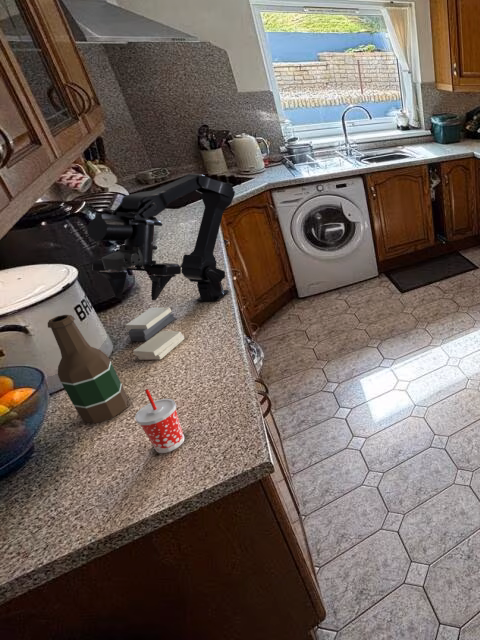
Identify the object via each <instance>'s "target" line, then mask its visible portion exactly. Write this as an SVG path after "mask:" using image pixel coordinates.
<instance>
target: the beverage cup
mask: <svg viewBox="0 0 480 640" xmlns="http://www.w3.org/2000/svg"><path fill="white" fill-rule="evenodd" d="M144 392H145V394H146V396H147V398H148V401H149V403H147V404H146V405H144V406H142V407H141V408H140V409H139V410H138V411H137V412H136V413H135V415H134V419H135V422H136V423H137V424H138V425H140V427H141V428H142V430H143V431H144V433H145V435H146V437H147V438H148V440H149V442H150V443H151V445H152V446H153V448H154V450H155V451H156V452H157V453H158V454H165V453H170V452H172V451H174V450H176V449H178V448H179V447H181V446H182V444H183V443H184V441H185V439H186V438H185V435H184V431H183V428H182V426H181V423H180V422H181V421H180V419H179V416H178V413H177V404H176V401H175V400H174V399H172V398H161V399H157V400H154V399H153V397H152V395H151V392H150V390H149V389H148V388H146V389H145V390H144Z"/></svg>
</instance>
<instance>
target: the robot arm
mask: <svg viewBox="0 0 480 640" xmlns="http://www.w3.org/2000/svg"><path fill="white" fill-rule="evenodd" d="M195 191H196V192H197V193H200V194H201V201H202V203H203V205H204V210H203V214H202V217H201V222H200V225H199V230H198V234H197V237H196V241H195V244H194V248H193V251H192V252H191V253H190V254H186V253H185V254H183V257H182V263H181V265H180V264H179V263H171V262H163V263H161V262H160V263H157V260H153V255H154V251H155V250H156V251H157V249H158V246H157V245H154V239H155V238H154V235H155V227H162V226H163V223H162V222H161V221H160V220H159V219H158V218H157V217H156V216H158V215H159V214H161V213H162V212H164V211H165V210H166V209H167V206H168V205H169V204H170V203H172V202H174V201H176V200H178V199H180V198H182V197H184V196H187V195H189V194H191V193H194V192H195ZM235 194H236V190H235V189H234V187H233V185H232V184H230V183H229V182H223V181H219V180H217V179H214V178H211V177H208V176H206V175H204V174H200V173H188V174H186V175H185V176H184V177H181V178H179V179H176V180H175V181H172V182H170V183H167V184H165V185H163V186H160V187H157V188H156V189H153V190H147V191H140V192H135V193H131V194H130V193H129V194H127V195H126V196H123V197H122V199H121V200H122V201H121V202H120V204H119V205H118V206H117V207H116V208H115V209H114V210H113V211H112V212H111V213H100V212H99V213H98V212H96V213H95V217H94V218H93V219H91V220H90V221H89V223H88V225H87V227H86V231H87V235H88V236H89V237H90V239H91V240H93V241H95V242H124V244H119V247H118V251H115V252H111V253H109V254H106V255H104V256H102V257H101V259H95V261H93V263H92V266H91V267H92V271H96V272H97V274H98V275H101V276H103V277H104V278H106V280H107V281H108V283H109V285H110V287H111V290H112V292H113V294H114V296H115V298H116V299H121V298H122V295H123V292H124V288H125V283H126V280H127V279H126V278H127V275H128V271H136V272H137V271H139V272H149V273H150V274H151V275H148V278H149V279H150V281H151V291H150V297H151V301H156V300H158V298H159V296H160V295H161V293H162V292H163V290H164V288H165V287H166V286H167V285H168V284H169V282H170V281H171V279H173V278H175V277H176V276H177V275H181V274H182V275H183V277H184V278H186V279H187V280H189V281H190V282H191V283H196V286H197V291H198V294H199V297H198V298H197V299H196V301H197V302H217V301H219V300H221V299H222V298H223V297H224V296H226V294H228V293H229V290H228V289H224V287H223V284H222V281H223V280H224V279H225V278H226V271H224V270H222V269H220V268H218V267H217V260H216V257H215V255H214V251H215V247H216V243H217V240H218V236H219V231H220V228H221V222H222V219H223V215H224V212H225V210H226V209H227V208H228V207H229V206H230V205H232V202H233V200H234V197H235Z"/></svg>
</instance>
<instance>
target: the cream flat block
mask: <svg viewBox="0 0 480 640" xmlns="http://www.w3.org/2000/svg"><path fill="white" fill-rule="evenodd" d="M184 340H185V336H184V334H183V333H182V331H173V330H160V331H158V332H157V333H156V334H155V335H153V336H152V337H151V338H149V339H148V340H147V341H144V343H142V344H141V345H139V346H138V347H137V348H135V349H133V350H132V353H133V355H134V356H136V357H137V358H138V360H140V361H141V360H142V361H143V360H162V359H163V358H164V357H166V355H168V354H169V353H171V352H172V350H173V349H175V348H176V347H178V345H179V344H181V343H182V342H183V341H184Z"/></svg>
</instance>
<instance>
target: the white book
mask: <svg viewBox="0 0 480 640" xmlns="http://www.w3.org/2000/svg"><path fill="white" fill-rule="evenodd" d="M169 313H172V310H171V307H150V308H148V309H146V310H145V311H143V312H142V313H140V314H139V315H138V316H136V317H135V318H133V319H132V320H131V321H129V322H128V323H126V324H125V328H126V330H131V329H149V328H150V327H151V326H153V325H154V324H155V323H157V322H158V321H159V320H161V319H162V318H164V317H165V316H166V315H168V314H169Z"/></svg>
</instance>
